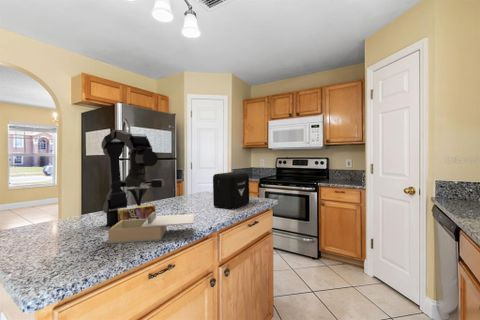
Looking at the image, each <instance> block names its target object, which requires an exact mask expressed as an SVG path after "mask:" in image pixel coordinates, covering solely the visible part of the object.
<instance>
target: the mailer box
mask: <svg viewBox="0 0 480 320" xmlns="http://www.w3.org/2000/svg"><path fill="white" fill-rule="evenodd" d="M146 220H147V219H132V220H121V221H120V222H118V223H117V224H116V225H114V226H111V227H110V228H109V229H108V233H107V234H108V245H110V244H124V243H125V244H126V243H138V242H139V243H140V242H150V241H151V242H153V241H162V239H163V237H164V235H165V234H166V231H167V229H168V226H154V227H141V226H142V225H143V224H144V222H145V221H146Z"/></svg>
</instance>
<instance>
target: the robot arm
mask: <svg viewBox="0 0 480 320" xmlns="http://www.w3.org/2000/svg"><path fill="white" fill-rule="evenodd" d="M100 146H101V149H102V153H103V154H104V156H105V157H106V158H107V167H108V180H109V181H108V183H109V191H108V192H107V194H106V195H105V198H106V199H105V201H104V204H103V206H102V211H103V213H105V214H106V224H105V226H104V227H113V226H114V225H116V224H117V223H118V209H119V208H128V198H127V192H128V191H129V192H130V193H131V195H132V196H133V198H134V201H135V203H136V206H142V202H143V199H144V197H145V195H146V193H147V191H148V190H149V189H151V188H150V187H152V188H154V189H155V188H163V187H164V186H165V180H164V179H163V178H156V179H155V178H154V179H152V180H148V177H147V167H154V166H156V165H157V163H158V159H159V158H158V155H157V153H156V152H155V151H153V146H152V144H151V143H150V140H149V138H148V136H147V135H146V134H140V133H139V134H138V133H131V132H128V131H125V130H123V129H112V130H111V131H110V133H108V134H106V135H105V136H104V137H103V139H102V141H101V145H100ZM124 147H127V148H128V150H129V151H128V156H129V170H128V174H127V176H126V177H125V178H124V179H122V177H121V166H120V165H121V164H120V163H121V161H120V157H121V155H122V154H123V152H124ZM122 188H127V189H126V191H127V192H126V191H124V190H123V189H122Z"/></svg>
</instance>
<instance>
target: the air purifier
mask: <svg viewBox="0 0 480 320" xmlns="http://www.w3.org/2000/svg"><path fill="white" fill-rule="evenodd" d="M212 192H213V193H212V195H213V196H212V197H213V199H212V200H213V202H212V203H213V207H215V208H219V209H220V208H222V209H229V210H234V209H238V208H241V207H243V206H246V205H248V204H249V203H250V175H249V174H248V172H236V171H235V172H232V171H231V172H222V173H221V172H220V173H215V174H213V176H212Z"/></svg>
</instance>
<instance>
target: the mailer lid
mask: <svg viewBox="0 0 480 320" xmlns="http://www.w3.org/2000/svg"><path fill="white" fill-rule="evenodd" d="M195 216H196V215H195V213H189V214H171V215H157V211H155V212H152V213H151V214H150V215H149V216H148V217H147V218H148V219H147V220H146V221H145V222H144V224H143V225H142V226H141V227H154V226H167V227H169V226H182V225H183V226H186V225H194V221H195Z"/></svg>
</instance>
